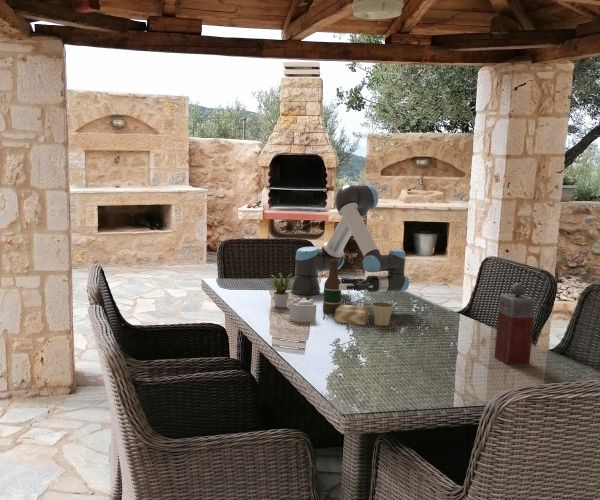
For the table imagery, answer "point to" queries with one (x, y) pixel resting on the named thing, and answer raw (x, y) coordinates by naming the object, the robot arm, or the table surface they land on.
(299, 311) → the lumpy-topped squat cylinder
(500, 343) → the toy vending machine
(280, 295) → the house plant
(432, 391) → the table surface
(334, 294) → the beer bottle
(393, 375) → the table surface
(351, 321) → the olive wood block
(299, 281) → the robot arm
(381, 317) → the flower pot
